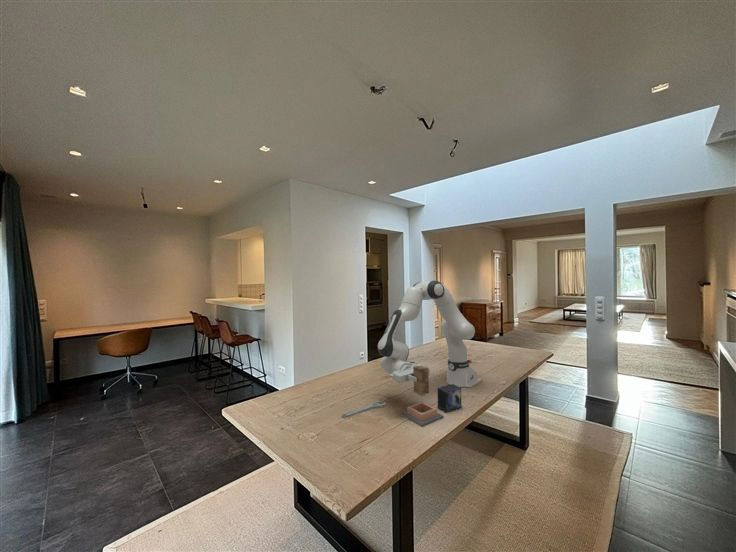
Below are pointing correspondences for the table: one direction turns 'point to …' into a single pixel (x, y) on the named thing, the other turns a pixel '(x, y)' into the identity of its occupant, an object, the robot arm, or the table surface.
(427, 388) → the walnut block
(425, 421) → the dock
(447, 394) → the small box
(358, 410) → the adjustable wrench
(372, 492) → the table surface
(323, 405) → the table surface
